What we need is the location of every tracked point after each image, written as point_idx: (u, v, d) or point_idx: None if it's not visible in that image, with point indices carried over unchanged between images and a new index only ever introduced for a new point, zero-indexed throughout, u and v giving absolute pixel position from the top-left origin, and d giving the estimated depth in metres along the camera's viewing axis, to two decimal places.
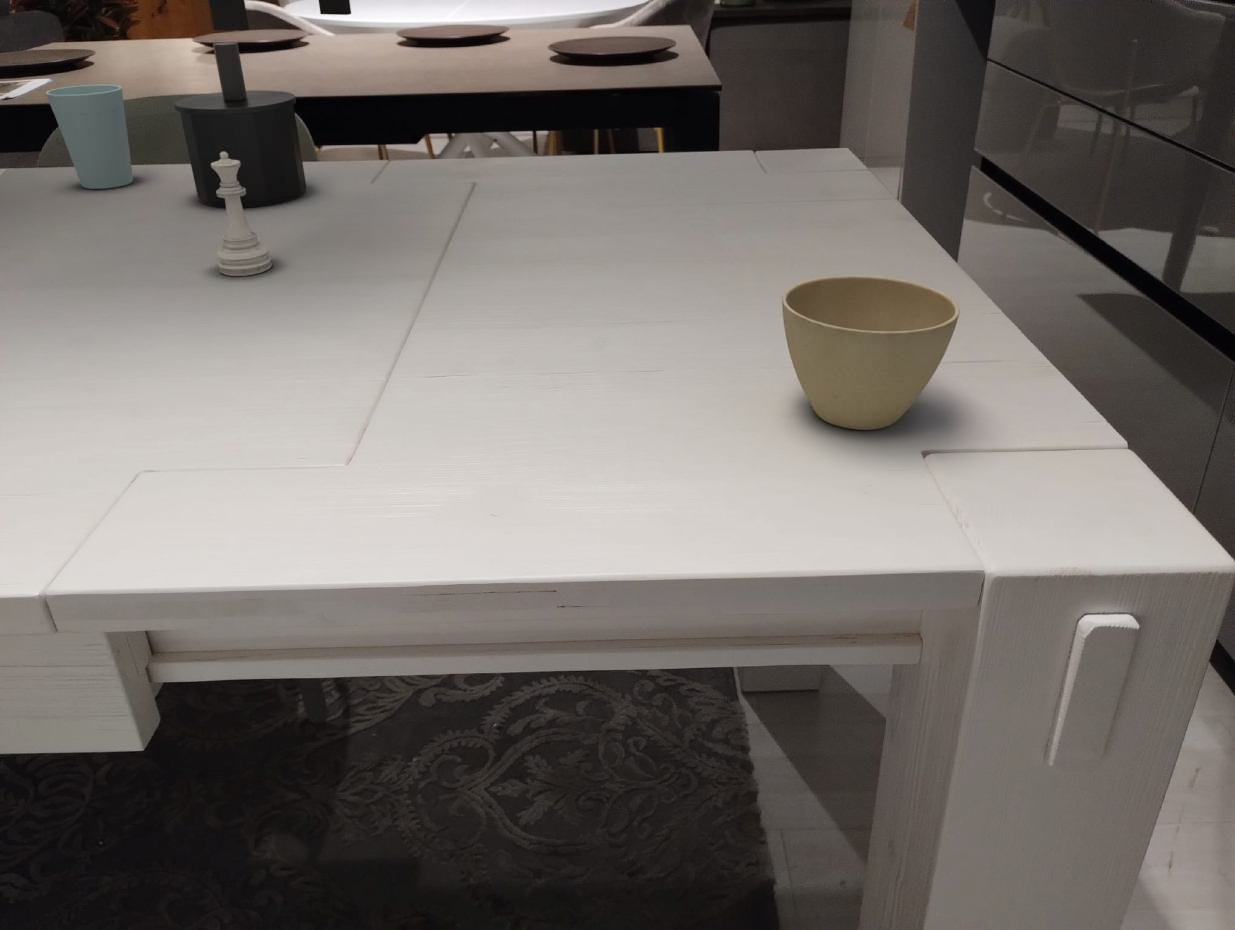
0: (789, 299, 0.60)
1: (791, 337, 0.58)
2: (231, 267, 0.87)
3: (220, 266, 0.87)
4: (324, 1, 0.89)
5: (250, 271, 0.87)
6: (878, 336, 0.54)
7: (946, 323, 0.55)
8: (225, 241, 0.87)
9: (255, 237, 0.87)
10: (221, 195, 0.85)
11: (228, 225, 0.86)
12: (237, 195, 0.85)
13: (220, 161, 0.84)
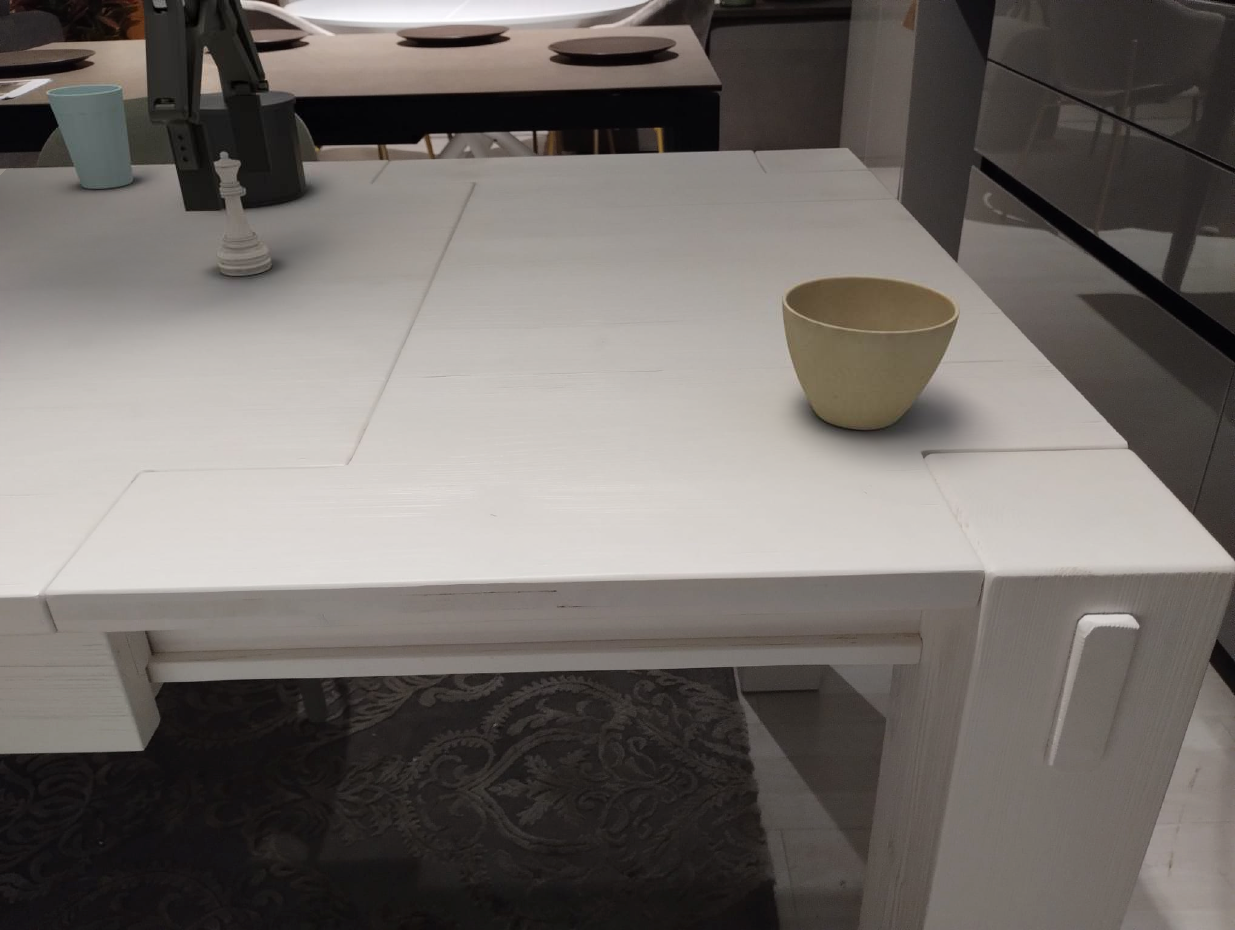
0: (789, 299, 0.60)
1: (791, 337, 0.58)
2: (231, 267, 0.87)
3: (220, 266, 0.87)
4: (245, 160, 0.91)
5: (250, 271, 0.87)
6: (878, 336, 0.54)
7: (946, 323, 0.55)
8: (225, 241, 0.87)
9: (255, 237, 0.87)
10: (221, 195, 0.85)
11: (228, 225, 0.86)
12: (237, 195, 0.85)
13: (220, 161, 0.84)
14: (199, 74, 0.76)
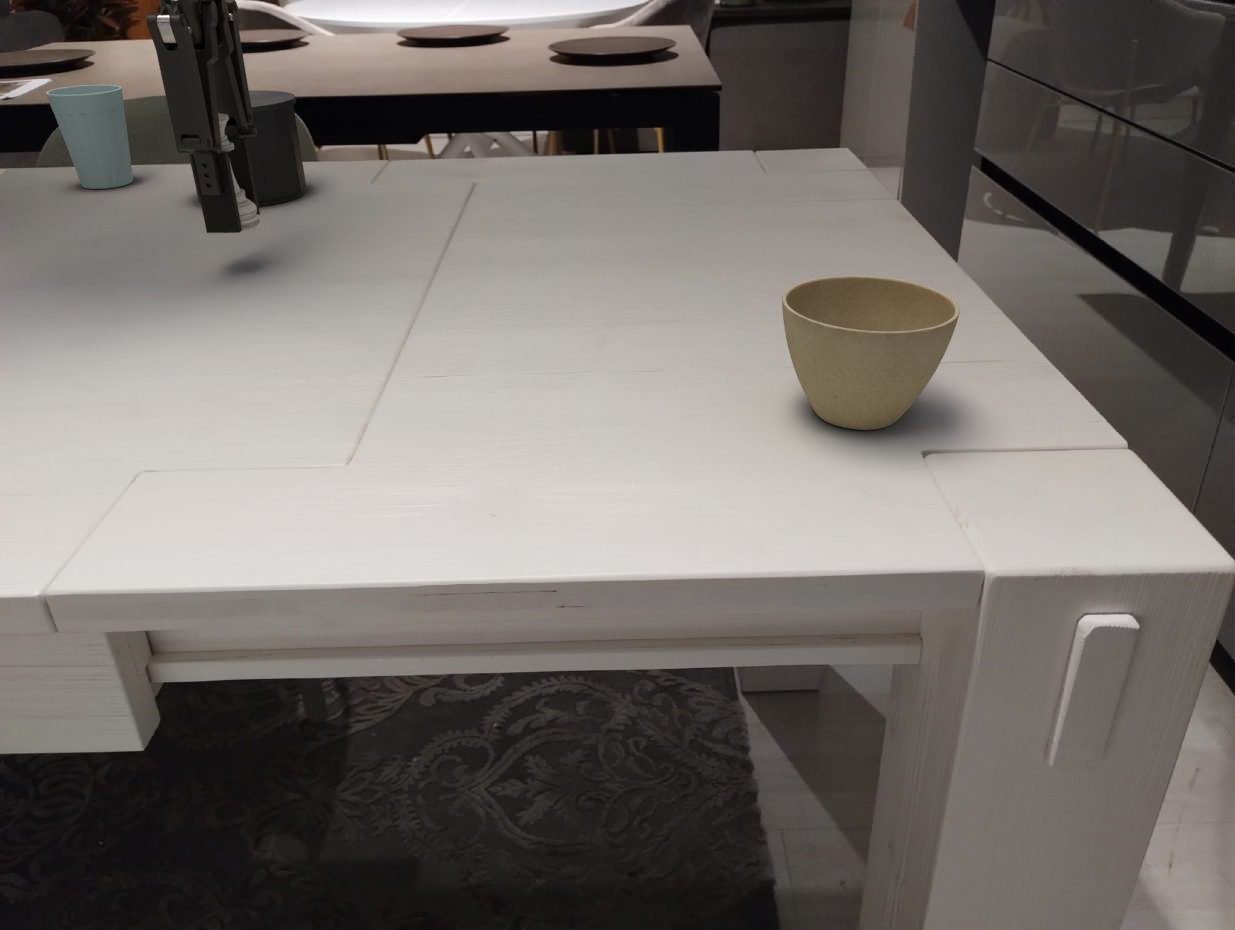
0: (789, 299, 0.60)
1: (791, 337, 0.58)
2: None
3: None
4: None
5: None
6: (878, 336, 0.54)
7: (946, 323, 0.55)
8: None
9: (243, 194, 0.86)
10: None
11: None
12: (225, 150, 0.83)
13: None
14: (214, 98, 0.80)
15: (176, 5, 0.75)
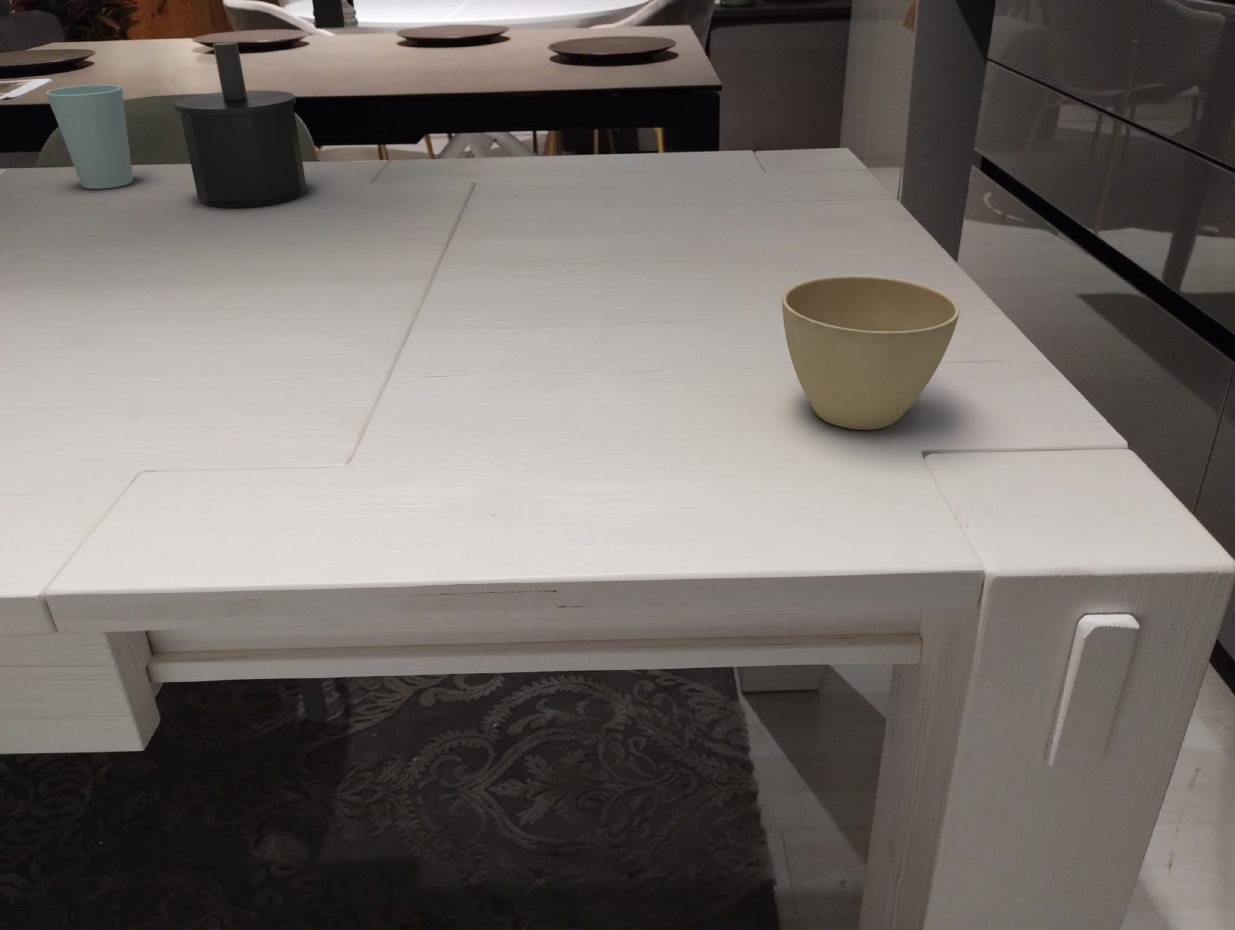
0: (789, 299, 0.60)
1: (791, 337, 0.58)
2: None
3: None
4: None
5: None
6: (878, 336, 0.54)
7: (946, 323, 0.55)
8: None
9: None
10: None
11: None
12: None
13: None
14: None
15: None
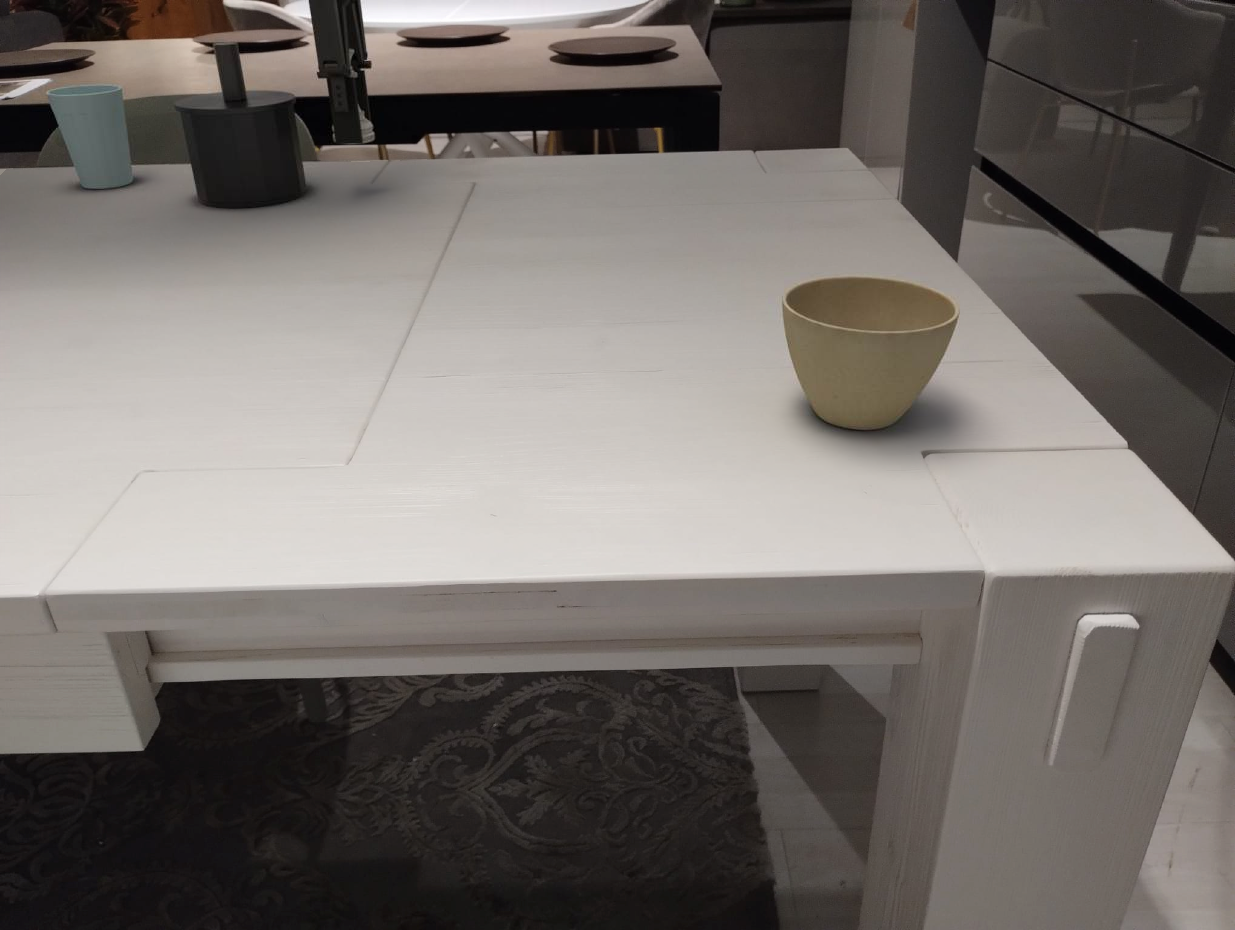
0: (789, 299, 0.60)
1: (791, 337, 0.58)
2: None
3: None
4: None
5: None
6: (878, 336, 0.54)
7: (946, 323, 0.55)
8: None
9: (363, 113, 1.08)
10: None
11: None
12: None
13: None
14: (346, 34, 1.02)
15: None
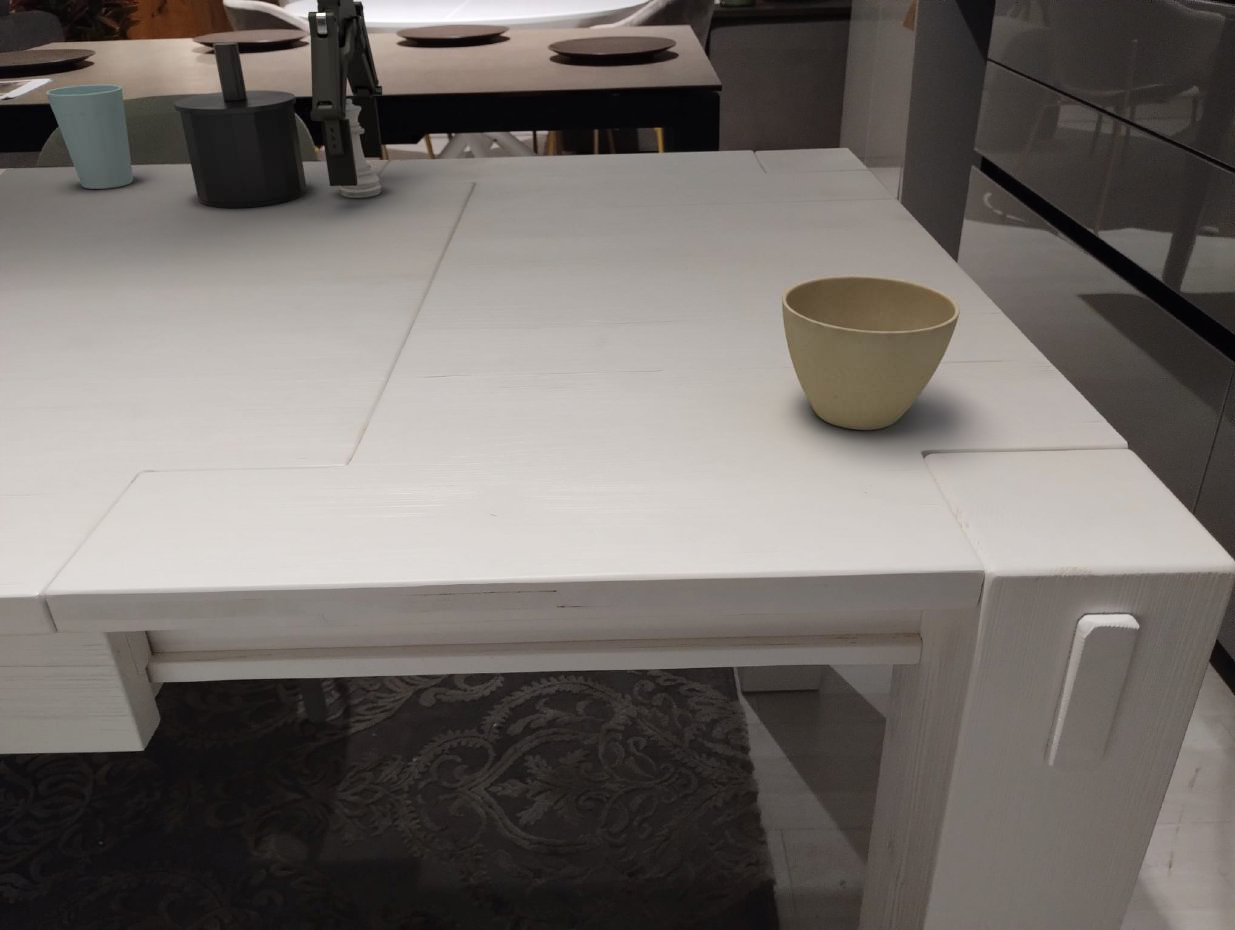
0: (789, 299, 0.60)
1: (791, 337, 0.58)
2: (351, 191, 1.10)
3: (342, 190, 1.11)
4: (362, 148, 1.16)
5: (366, 194, 1.10)
6: (878, 336, 0.54)
7: (946, 323, 0.55)
8: None
9: (370, 167, 1.11)
10: None
11: None
12: (358, 133, 1.08)
13: (346, 106, 1.07)
14: (345, 83, 1.02)
15: None
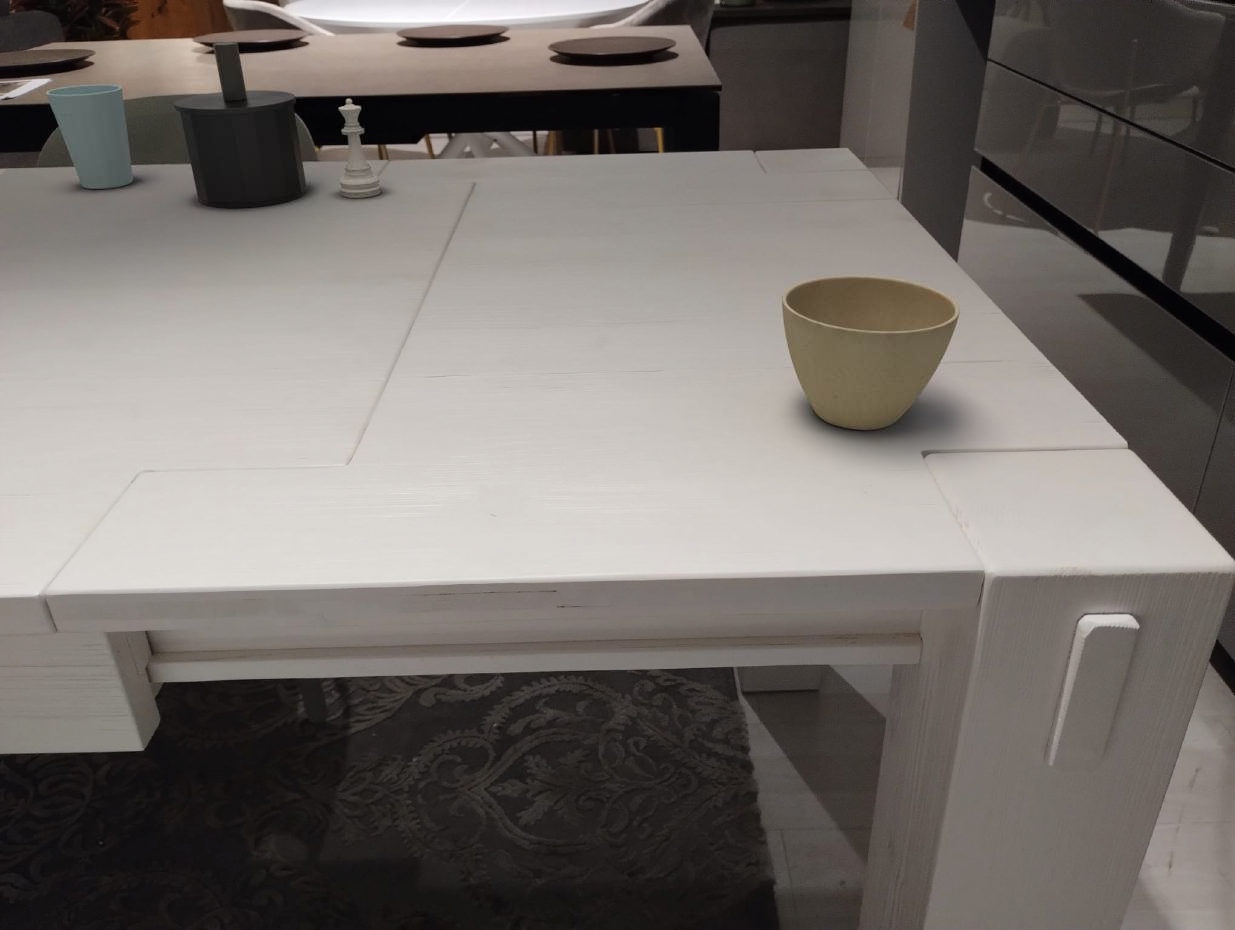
0: (789, 299, 0.60)
1: (791, 337, 0.58)
2: (351, 191, 1.10)
3: (342, 190, 1.11)
4: None
5: (366, 194, 1.10)
6: (878, 336, 0.54)
7: (946, 323, 0.55)
8: (347, 170, 1.10)
9: (370, 167, 1.11)
10: (346, 133, 1.08)
11: (349, 158, 1.10)
12: (358, 133, 1.08)
13: (346, 106, 1.07)
14: None
15: None
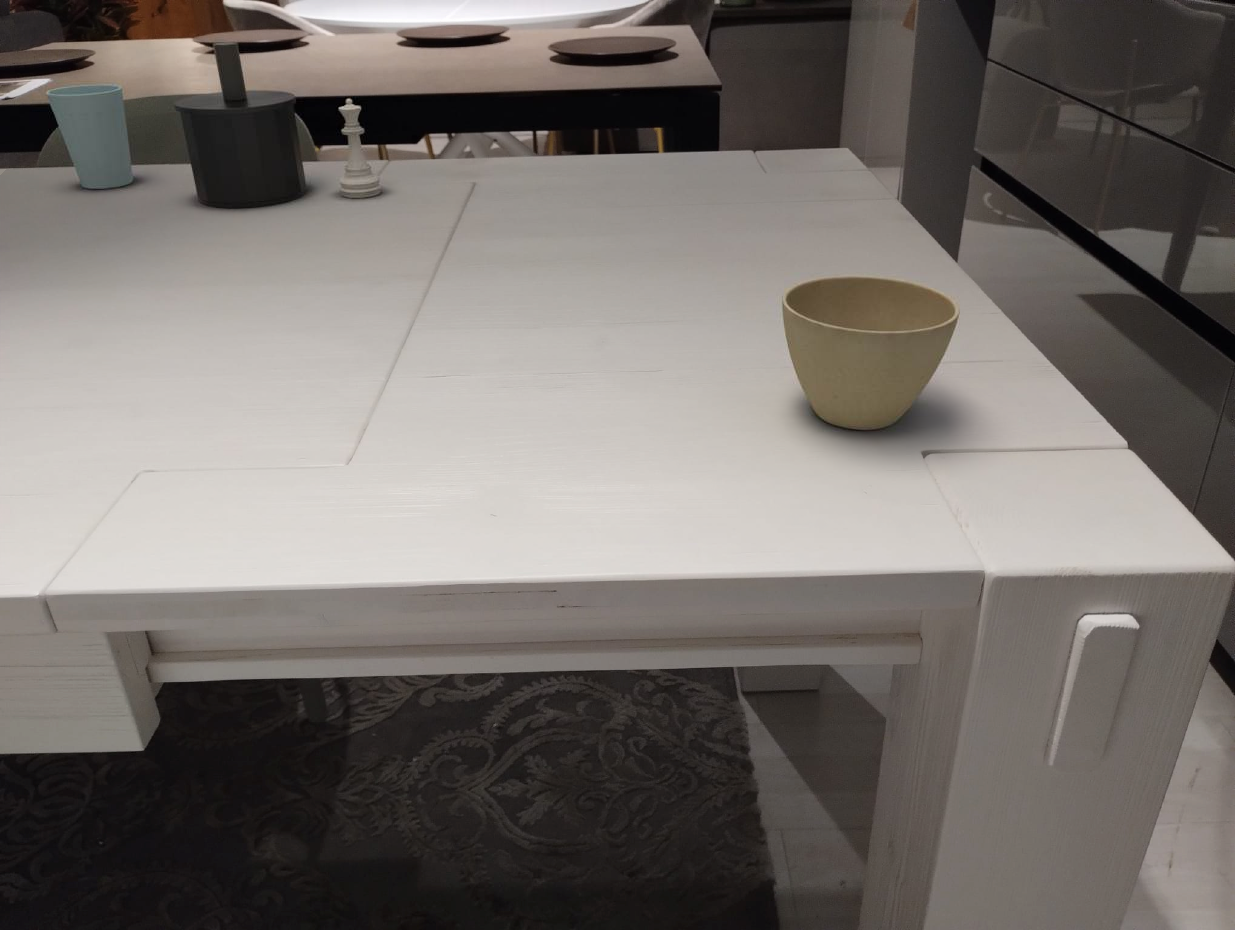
0: (789, 299, 0.60)
1: (791, 337, 0.58)
2: (351, 191, 1.10)
3: (342, 190, 1.11)
4: None
5: (366, 194, 1.10)
6: (878, 336, 0.54)
7: (946, 323, 0.55)
8: (347, 170, 1.10)
9: (370, 167, 1.11)
10: (346, 133, 1.08)
11: (349, 158, 1.10)
12: (358, 133, 1.08)
13: (346, 106, 1.07)
14: None
15: None
